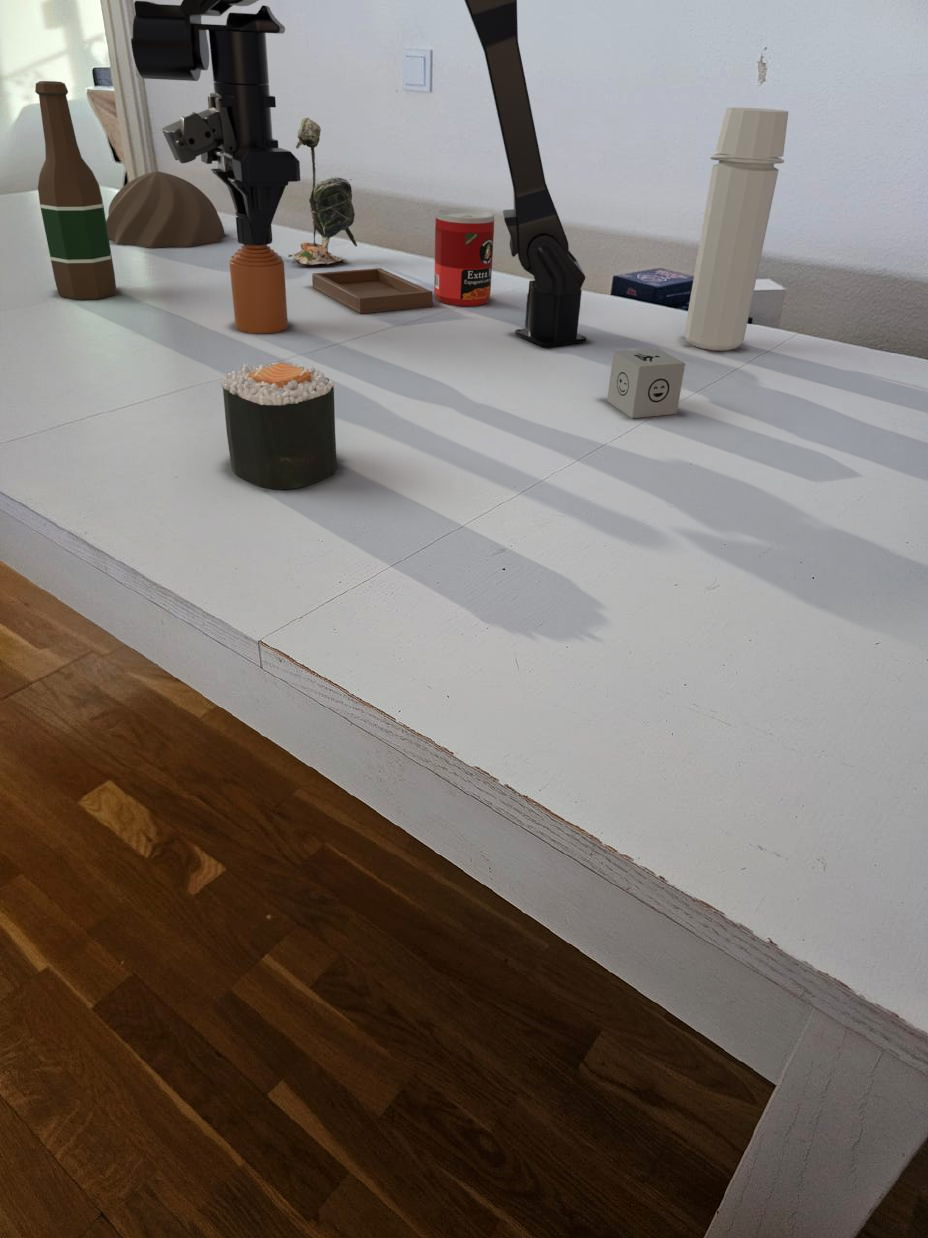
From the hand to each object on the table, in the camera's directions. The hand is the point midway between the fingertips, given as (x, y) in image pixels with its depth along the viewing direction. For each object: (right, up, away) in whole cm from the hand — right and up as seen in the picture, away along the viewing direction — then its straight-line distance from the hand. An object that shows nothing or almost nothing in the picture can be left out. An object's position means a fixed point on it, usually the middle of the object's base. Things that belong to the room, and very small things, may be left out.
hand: (254, 241), depth 103 cm
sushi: (+9, -31, -30) cm, 44 cm away
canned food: (+24, +1, +21) cm, 32 cm away
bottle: (0, -8, +5) cm, 10 cm away
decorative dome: (-27, +22, +50) cm, 61 cm away
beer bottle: (-26, -1, +16) cm, 30 cm away
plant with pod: (+2, +12, +38) cm, 40 cm away
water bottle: (+55, -9, +8) cm, 56 cm away
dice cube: (+42, -23, -14) cm, 49 cm away
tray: (+11, +1, +20) cm, 23 cm away
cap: (0, 0, 0) cm, 0 cm away
